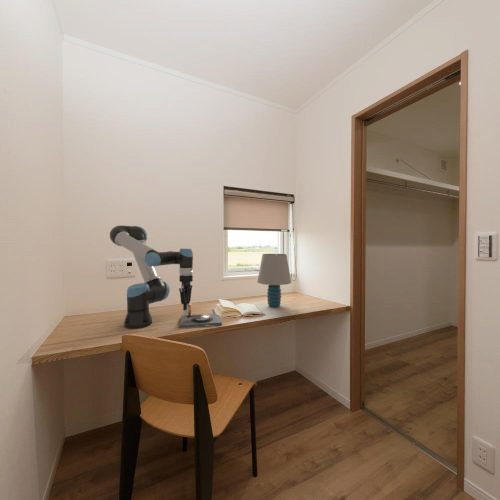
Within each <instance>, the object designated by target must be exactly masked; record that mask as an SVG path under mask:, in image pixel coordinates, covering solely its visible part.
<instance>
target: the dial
mask: <svg viewBox="0 0 500 500" xmlns="http://www.w3.org/2000/svg"><path fill="white" fill-rule="evenodd" d="M209 314H210V313H196V314H195V313H194V314H192V303H191V302H190V304H189V303H188V315H186V317H187V318H190V317H194V320H195V321H208V320H210V319H211V316H210V315H209Z"/></svg>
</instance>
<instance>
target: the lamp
mask: <svg viewBox="0 0 500 500" xmlns="http://www.w3.org/2000/svg"><path fill="white" fill-rule="evenodd" d="M289 267H290V266H289V261H288V256H287V254H286V253H263V254H262V256H261V259H260V266H259V271H258V276H257V283H258V284H261V285H267V293H266V294H267V296H266V297H267V304H268V307H269V308H280V306H281V302H282V292H281V291H282V288H281V286H285V285H289V284H292V278H291V273H290V268H289Z"/></svg>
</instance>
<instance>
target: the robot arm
mask: <svg viewBox="0 0 500 500" xmlns="http://www.w3.org/2000/svg"><path fill="white" fill-rule="evenodd" d="M109 239H110V241H111V242H112V243H113V244H114V245H116V246H118V247H123V248H125V249H126V250H127V251H129V252H131V253H132V255H133V256H134V259H135V262H136V264H137V267H138V269H139V271H140V274H141V276H142V279H143V281H144V282H141V283H135V284H131V285H129V286H128V287H127V291H126V305H127V306H126V308H127V309H126V310H127V312H126V315H125V317H124V318H125V319H124V321H123V322H124V323H123V326H124V328H127V329H141V328H146V327H148V326H150V325H151V324H153V318H152V315H151V312H150V305H151V304H155V303H158V302H161V301H164V300H166V299H167V298H168V297H169V294H170V286H169V284H168V282H166V281H163V279H162V277H160V276H158V274H157V271H156V269H155V267H158V266H159V267H160V266H168V265H179V277H178V278H179V279H178V280H179V282H180V283H181V286H180V288H179V289H178V290H179V296H180V305H182V307H183V308H182V315H188V303H189V304H190V303H191V300H192V288H193V285H192V284H191V282H193V281H194V280H193V278H194V277H193V271H194V269H193V268H194V266H193V265H194V263H193V260H194V252H193V248H179V251H172V250H170V251H157V250H155V249H154V248H152V247H150V246H148V245H146V244H147V240H148V233H147V231H146V230H145V228H143V227H142V226H138V225H120V224H119V225H116V226H115V227H113V228H111V230H110V232H109Z"/></svg>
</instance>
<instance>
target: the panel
mask: <svg viewBox="0 0 500 500" xmlns="http://www.w3.org/2000/svg"><path fill="white" fill-rule="evenodd" d="M208 314H209V315H210V316H211V319H210V320H208V321H195V320H194V317H190V318H187V317H186V315H183V314H182V315H180V321H179V325H178V326H179V329H185V328H187V327H188V328H197V327H196V326H202V327H206V326H205V325H216V326H222V325H223V321H222V319H221V318H222V317H221V315H220V314H219V315H220V316H219V315H217V314H216V312H215V313H208Z"/></svg>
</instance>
